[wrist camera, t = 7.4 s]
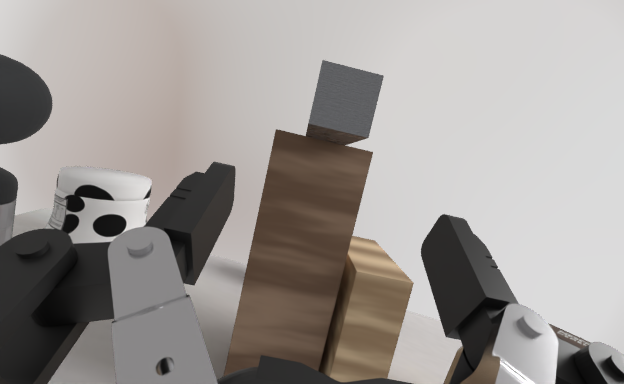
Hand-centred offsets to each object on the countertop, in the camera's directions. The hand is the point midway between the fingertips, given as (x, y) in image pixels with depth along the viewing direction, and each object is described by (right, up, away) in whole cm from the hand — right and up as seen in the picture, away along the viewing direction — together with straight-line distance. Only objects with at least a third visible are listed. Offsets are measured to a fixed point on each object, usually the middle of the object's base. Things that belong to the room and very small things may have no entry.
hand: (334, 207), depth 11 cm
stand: (-4, -25, +27) cm, 37 cm away
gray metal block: (0, +6, +20) cm, 21 cm away
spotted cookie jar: (-46, -13, +48) cm, 68 cm away
